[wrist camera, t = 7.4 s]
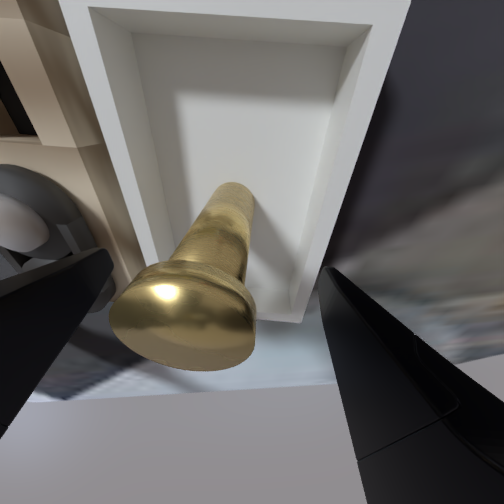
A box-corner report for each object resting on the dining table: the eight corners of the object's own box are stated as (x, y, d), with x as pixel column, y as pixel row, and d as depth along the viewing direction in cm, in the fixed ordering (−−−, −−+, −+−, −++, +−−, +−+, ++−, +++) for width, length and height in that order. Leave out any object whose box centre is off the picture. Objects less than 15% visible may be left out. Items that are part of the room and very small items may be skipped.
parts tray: (295, 292, 19) (301, 323, 17) (176, 282, 20) (161, 310, 17) (370, 22, 9) (418, -22, 6) (112, 5, 9) (43, -44, 6)
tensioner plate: (157, 280, 20) (126, 327, 15) (79, 273, 20) (26, 318, 15) (71, 2, 9) (-102, -96, 5) (-94, -8, 9) (-405, -113, 5)
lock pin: (259, 231, 15) (251, 376, 7) (207, 227, 15) (134, 365, 7) (264, 176, 12) (261, 295, 4) (202, 171, 12) (81, 279, 4)
